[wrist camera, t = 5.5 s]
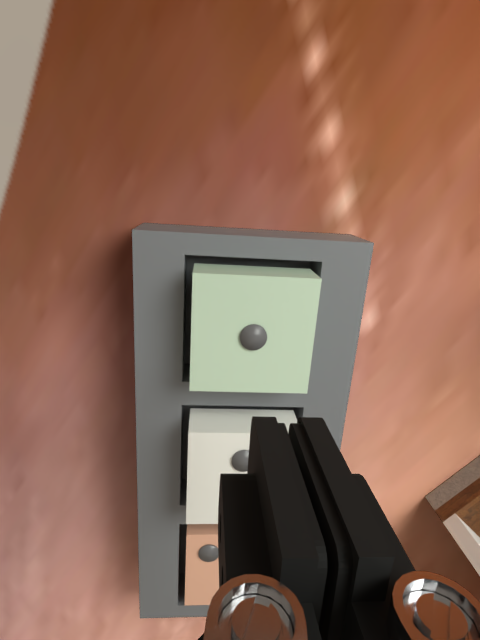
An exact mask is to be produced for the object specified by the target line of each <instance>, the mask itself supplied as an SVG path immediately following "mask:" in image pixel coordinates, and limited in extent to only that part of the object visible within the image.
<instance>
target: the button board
mask: <svg viewBox="0 0 480 640" xmlns="http://www.w3.org/2000/svg"><path fill="white" fill-rule="evenodd" d="M373 245H374V243H373V242H370V241H367V240H364V239H361V238H359V237H356V236H353V235H350V234H332V233H314V232H296V231H279V230H261V229H243V228H226V227H208V226H190V225H173V224H155V223H143V224H141V225H139V226H137V227H136V228H134V229H132V249H133V299H134V349H135V399H136V449H137V499H138V549H139V600H140V618H170V617H207V612H208V609H209V606H210V605H185V571H186V535H187V524H186V502H187V464H188V430H189V419H190V408H203V409H258V410H293V411H294V413H295V416H296V419H297V420H298V418H299V417H321V418H323V419H324V421H325V423H326V425H327V427H328V429H329V431H330V433H331V435H332V437H333V438H334V440H335V442H336V444H337V446H338V448H339V450H340V447H341V441H342V435H343V429H344V423H345V417H346V410H347V404H348V398H349V392H350V386H351V380H352V374H353V368H354V362H355V355H356V349H357V343H358V337H359V331H360V325H361V319H362V313H363V307H364V300H365V294H366V288H367V282H368V276H369V270H370V264H371V258H372V252H373ZM194 263H202V264H223V265H243V266H264V267H284V268H305V269H311V270H312V271H313V272H314V273H315V274H317V275H318V276H319V277H320V278H321V279H322V282H321V289H320V297H319V305H318V313H317V321H316V329H315V337H314V344H313V352H312V360H311V368H310V376H309V384H308V391H307V394H304V393H258V392H212V391H189V388H190V350H191V312H192V274H193V268H194Z"/></svg>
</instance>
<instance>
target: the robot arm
mask: <svg viewBox="0 0 480 640" xmlns="http://www.w3.org/2000/svg"><path fill="white" fill-rule="evenodd" d="M218 559H219V589H218V590H217V592H216V593H215V595H214V596H213V597H212V600H211V603H210V606H209V609H208V612H207V619H206V625H205V632H204V634H203V635H202V636H201V637H200V638H199V639H198V640H480V602H479V601H478V600H477V599H476V598H475V597H474V596H473V595H472V594H471V593H470V592H469V591H468V590H466V589H465V588H464V587H462V586H461V585H459V584H458V583H456V582H455V581H453V580H451V579H449V578H446V577H444V576H442V575H440V574H436V573H432V572H428V571H415V569H414V567H413V565H412V563H411V562H410V560H409V558H408V556H407V554H406V553H405V551H404V549H403V547H402V545H401V543H400V542H399V540H398V538H397V536H396V534H395V533H394V531H393V529H392V527H391V525H390V524H389V522H388V520H387V518H386V516H385V514H384V513H383V511H382V509H381V507H380V505H379V504H378V502H377V500H376V498H375V496H374V495H373V493H372V491H371V489H370V487H369V485H368V484H367V482H366V480H365V479H364V477H363V476H362V475H360V474H352V473H351V472H350V470H349V468H348V466H347V464H346V462H345V460H344V458H343V456H342V454H341V452H340V450H339V448H338V446H337V444H336V442H335V440H334V438H333V437H332V435H331V433H330V431H329V429H328V427H327V425H326V423H325V421H324V419H323V418H321V417H299V418H298V420H297V423H291V424H290V426H289V432H287V429H286V426H285V423H278V422H277V419H276V417H258V416H253V417H252V420H251V431H250V444H249V457H248V470H247V474H221V475H220V486H219V505H218Z"/></svg>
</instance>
